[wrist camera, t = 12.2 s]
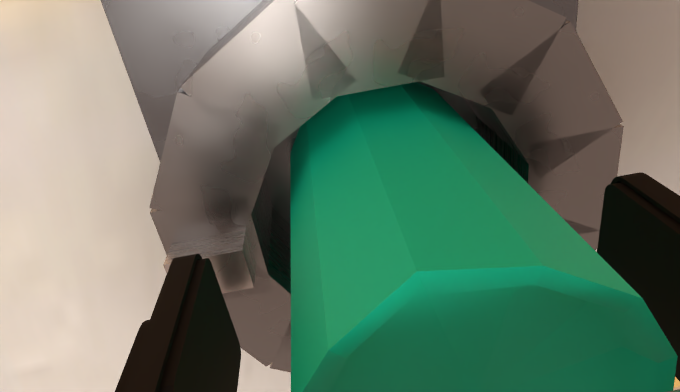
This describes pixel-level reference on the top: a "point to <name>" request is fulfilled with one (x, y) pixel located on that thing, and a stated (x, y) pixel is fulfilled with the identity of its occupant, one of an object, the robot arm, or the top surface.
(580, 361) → the candle
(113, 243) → the top surface
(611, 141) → the hub
